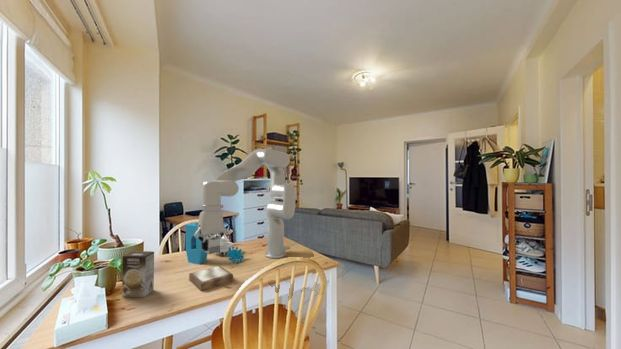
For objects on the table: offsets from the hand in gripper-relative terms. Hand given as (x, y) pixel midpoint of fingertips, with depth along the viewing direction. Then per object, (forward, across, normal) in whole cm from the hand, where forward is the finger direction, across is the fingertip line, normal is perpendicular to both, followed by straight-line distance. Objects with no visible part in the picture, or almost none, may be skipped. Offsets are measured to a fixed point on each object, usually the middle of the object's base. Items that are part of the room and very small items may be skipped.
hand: (211, 248), depth 114 cm
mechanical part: (+15, -20, -32) cm, 41 cm away
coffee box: (+15, +26, -8) cm, 31 cm away
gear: (+15, -20, -15) cm, 29 cm away
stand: (+14, 0, 0) cm, 14 cm away
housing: (+1, 0, 0) cm, 1 cm away
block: (+15, -4, -28) cm, 32 cm away
